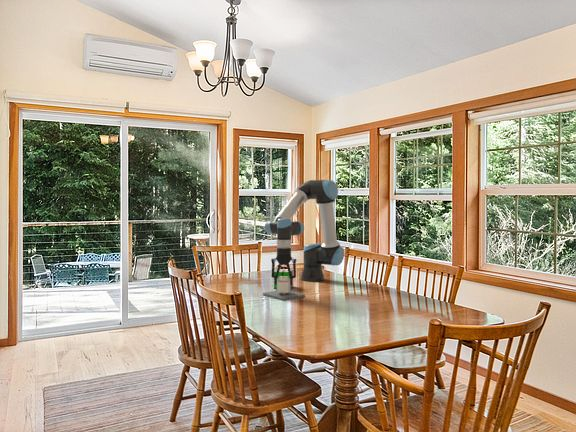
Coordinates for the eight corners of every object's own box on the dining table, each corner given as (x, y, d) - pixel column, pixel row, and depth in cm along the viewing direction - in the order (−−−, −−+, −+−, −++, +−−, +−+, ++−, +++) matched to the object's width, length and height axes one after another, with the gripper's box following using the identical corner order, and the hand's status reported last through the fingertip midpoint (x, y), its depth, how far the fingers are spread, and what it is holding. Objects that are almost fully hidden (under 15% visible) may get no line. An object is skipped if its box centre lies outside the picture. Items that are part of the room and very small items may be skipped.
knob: (279, 289, 248) (279, 274, 248) (289, 290, 248) (289, 275, 248) (277, 292, 240) (277, 277, 240) (288, 292, 240) (288, 277, 240)
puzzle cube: (292, 286, 272) (292, 269, 272) (291, 289, 262) (291, 272, 262) (276, 285, 273) (276, 269, 273) (273, 289, 263) (274, 271, 263)
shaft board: (284, 291, 256) (284, 280, 256) (304, 296, 243) (304, 285, 243) (262, 295, 246) (262, 283, 246) (283, 300, 233) (283, 288, 233)
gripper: (265, 247, 241) (265, 291, 241) (301, 248, 239) (300, 292, 240) (267, 246, 248) (267, 289, 249) (301, 247, 247) (301, 289, 247)
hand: (283, 290), depth 244 cm, fingers closed on knob, 6 cm apart
